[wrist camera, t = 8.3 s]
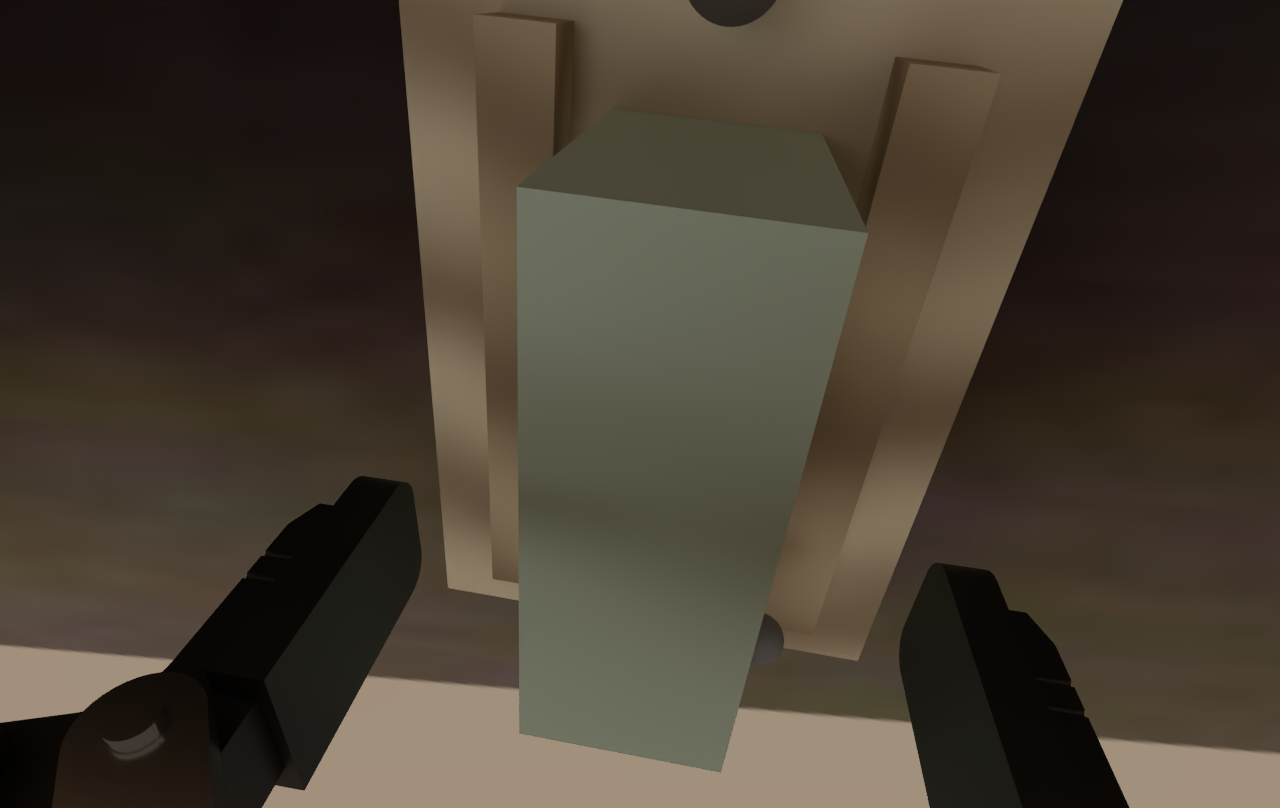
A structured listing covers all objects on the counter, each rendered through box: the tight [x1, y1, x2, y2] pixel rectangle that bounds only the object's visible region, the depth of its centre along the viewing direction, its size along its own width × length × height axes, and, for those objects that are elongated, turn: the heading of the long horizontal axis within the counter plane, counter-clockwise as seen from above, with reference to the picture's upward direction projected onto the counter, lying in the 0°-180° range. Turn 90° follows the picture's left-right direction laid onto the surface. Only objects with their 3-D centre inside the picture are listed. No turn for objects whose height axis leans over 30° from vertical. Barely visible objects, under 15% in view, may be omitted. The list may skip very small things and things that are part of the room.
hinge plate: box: [399, 0, 1123, 661], centre depth 16 cm, size 20×14×6 cm
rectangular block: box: [517, 108, 868, 772], centre depth 15 cm, size 12×6×7 cm, turn 175°
